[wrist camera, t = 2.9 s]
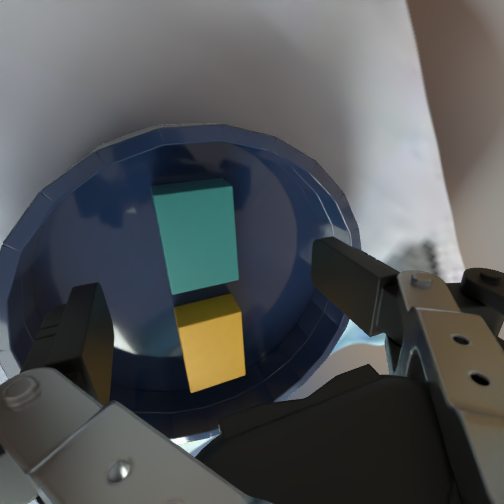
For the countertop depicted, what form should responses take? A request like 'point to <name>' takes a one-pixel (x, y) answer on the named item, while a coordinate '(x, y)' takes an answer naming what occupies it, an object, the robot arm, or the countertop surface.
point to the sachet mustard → (211, 341)
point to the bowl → (155, 275)
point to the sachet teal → (197, 233)
